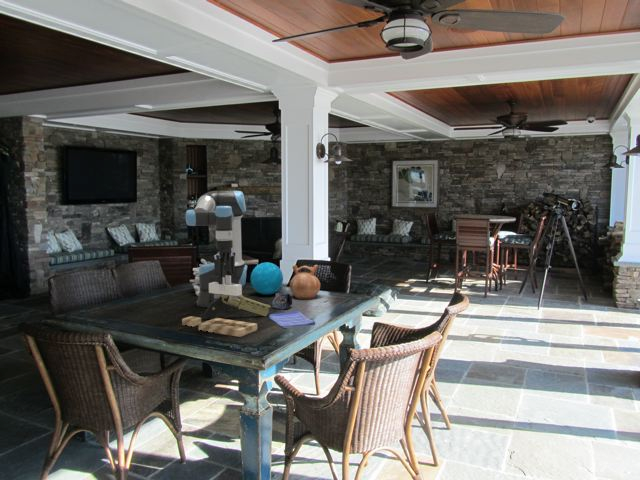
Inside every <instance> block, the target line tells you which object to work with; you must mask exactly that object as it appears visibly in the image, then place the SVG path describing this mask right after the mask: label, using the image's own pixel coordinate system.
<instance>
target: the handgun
mask: <svg viewBox="0 0 640 480" xmlns="http://www.w3.org/2000/svg"><path fill="white" fill-rule="evenodd" d="M219 297H220V298H217V299H216V300H215V301H213V302H212V303H211V304H210V305H209V307H207V309H206V310H204V311H205V312H204V313H203V315H204V317H206V318H208V319H209V320H212V319H215V318H216V316H217V314H218V312H219V311H220V310H222V312H223V313H225V314H232V313H234V312H235V310H239V311H240V310H241V311H248V312H250V313H253V314H256V315H257V314H258V315H260V316H263V317H268V316H269V315H268V314H269V311H270V308H271V307H272V306H271V305H270V304H267V303H262V302H260V301H257V300H254V299H251V298H248V297H245V296H244V295H243V294H242V295H238V296H237V300H234V301H233V300H231V295H224V294H220V295H219ZM228 307H229V308H231V309H232V310H229V311H228V310H227V308H228Z"/></svg>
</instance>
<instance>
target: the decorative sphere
mask: <svg viewBox="0 0 640 480" xmlns="http://www.w3.org/2000/svg"><path fill="white" fill-rule="evenodd" d="M283 282H284V274H283V272H282V270H281V269H280V267H279V266H277V265H276V263H275V264H274V263H272V262H268V261H267V262H266V261H265V262H261V263H260V264H257V265H256V266H255V267H254V268H253V270H252V272H251V274H250V283H251V284H250V285H251V286H252V288H253V290H254V291H256V292H257V293H259V294H261V295H264V296H270V295H273V294H276V293H278V291H279V290H280V289H281V287H282V285H283Z"/></svg>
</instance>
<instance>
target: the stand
mask: <svg viewBox="0 0 640 480" xmlns="http://www.w3.org/2000/svg"><path fill="white" fill-rule="evenodd" d="M181 322H182V324H181V326H185V325H187V327H191V326H192V327H196V326H198V324H199V323H202V317H198V316H187V317H184V318H182V319H181Z"/></svg>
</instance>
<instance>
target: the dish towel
mask: <svg viewBox="0 0 640 480" xmlns="http://www.w3.org/2000/svg"><path fill="white" fill-rule="evenodd" d="M268 318H269V319H270V320H271V321H272V322H274V323H275V324H277V325H278V326H279V327H280V328H283V329H291V328H301V327H308V326H309V327H310V326H315V325H316V321H314V320H311V319H310V318H309V317H307V316H306V315H304V314H303V313H301V311H299V310H295V311H291V312H281V313H280V312H279V313H272V314H269V315H268Z"/></svg>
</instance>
